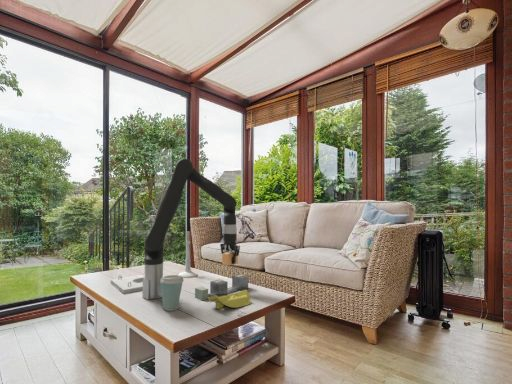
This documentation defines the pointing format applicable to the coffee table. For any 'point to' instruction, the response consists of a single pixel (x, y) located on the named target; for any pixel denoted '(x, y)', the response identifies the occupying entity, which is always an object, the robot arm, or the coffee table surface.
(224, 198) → the robot arm
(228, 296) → the plastic component
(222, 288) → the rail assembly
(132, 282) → the mounting panel
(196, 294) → the green block
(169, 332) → the coffee table surface
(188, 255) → the candlestick
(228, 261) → the orange module
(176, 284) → the disposable coffee cup
